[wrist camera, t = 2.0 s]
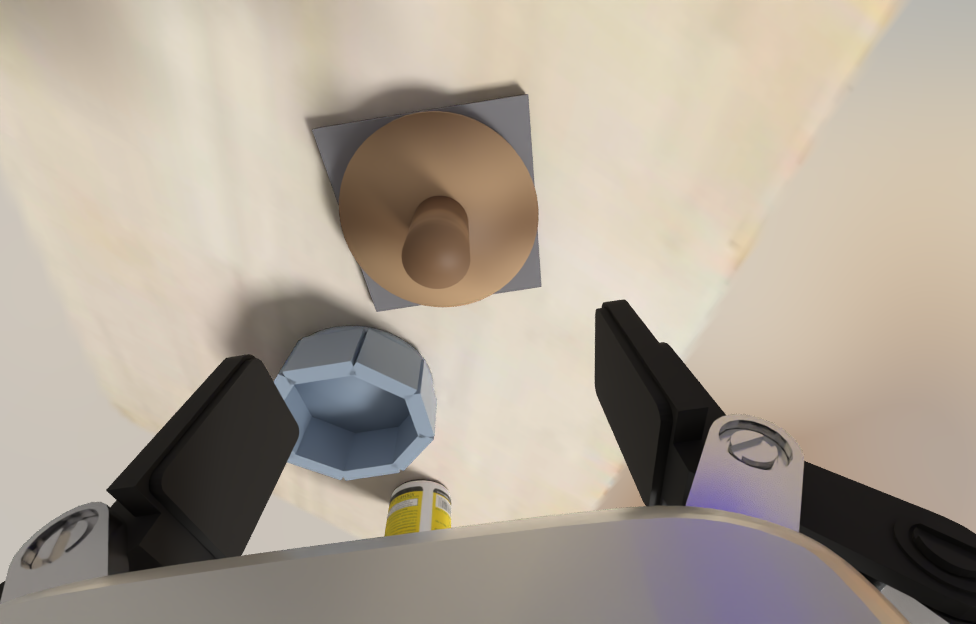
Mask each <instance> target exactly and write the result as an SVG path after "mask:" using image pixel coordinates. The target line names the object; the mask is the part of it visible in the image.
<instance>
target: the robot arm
mask: <svg viewBox="0 0 976 624" xmlns="http://www.w3.org/2000/svg"><path fill="white" fill-rule="evenodd" d="M595 389H596V394H597V397H598V399H599V401H600V404H601V406H602V408H603V410H604V413H605V415H606V417H607V420H608V422H609V424H610V427H611V429H612V431H613V433H614V436H615V438H616V440H617V443H618V445H619V447H620V450H621V452H622V454H623V456H624V459H625V461H626V463H627V466H628V468H629V470H630V473H631V475H632V477H633V479H634V482H635V484H636V486H637V489H638V491H639V493H640V496H641V498H642V500H643V502H644V504H645V505H646V506H644V507H627V508H615V509H605V510H596V511H587V512H578V513H569V514H559V515H550V516H541V517H533V518H526V519H518V520H510V521H502V522H494V523H486V524H478V525H470V526H462V527H455V528H447V529H439V530H431V531H423V532H416V533H408V534H400V535H393V536H385V537H377V538H370V539H362V540H355V541H347V542H340V543H333V544H325V545H318V546H310V547H302V548H295V549H287V550H281V551H273V552H266V553H258V554H251V555H244V556H241V555H242V553H243V551H244V549H245V547H246V545H247V543H248V541H249V539H250V537H251V535H252V533H253V531H254V529H255V527H256V525H257V523H258V520H259V518H260V516H261V514H262V512H263V510H264V508H265V506H266V504H267V502H268V500H269V498H270V496H271V494H272V492H273V490H274V488H275V485H276V483H277V481H278V479H279V477H280V475H281V473H282V471H283V469H284V467H285V465H286V463H287V461H288V459H289V457H290V454H291V452H292V450H293V448H294V446H295V444H296V442H297V440H298V437H299V426H298V424H297V422H296V420H295V419H294V417H293V415H292V413H291V412H290V410H289V408H288V406H287V405H286V403H285V401H284V399H283V398H282V396H281V394H280V392H279V391H278V389H277V387H276V385H275V384H274V382H273V380H272V378H271V377H270V375H269V373H268V371H267V370H266V368H265V366H264V364H263V363H262V361H261V360H259V359H256V358H255V357H254V356H252V355H249V354H248V355H242V356H235V357H229V358H226V359H225V360H223V362H222V363H221V364H220V365H219V366H218V367H217V368H216V369H215V370H214V371H213V373H212V374H211V375H210V376H209V377H208V378H207V379H206V380H205V381H204V383H203V384H202V385H201V386H200V387H199V388H198V389H197V390H196V391H195V392H194V394H193V395H192V396H191V397H190V398H189V399H188V400H187V401H186V402H185V404H184V405H183V406H182V407H181V408H180V409H179V410H178V411H177V412H176V413H175V415H174V416H173V417H172V418H171V419H170V420H169V421H168V422H167V423H166V425H165V426H164V427H163V428H162V429H161V430H160V431H159V432H158V433H157V434H156V436H155V437H154V438H153V439H152V440H151V441H150V442H149V443H148V444H147V446H146V447H145V448H144V449H143V450H142V451H141V452H140V453H139V454H138V455H137V457H136V458H135V459H134V460H133V461H132V462H131V463H130V464H129V465H128V467H127V468H126V469H125V470H124V471H123V472H122V473H121V474H120V476H118V478H117V479H116V480H115V481H114V482H113V483H112V484H111V485H110V486H109V488H108V489H107V492H108V493H110V494H111V495H112V496H113V497H114V498H115V499H116V502H115V503H114V504H113V505H112V506H111V507H109V506H108V505H106V504H104V503H102V502H91V503H88V504H84V505H81V506H78V507H76V508H74V509H72V510H70V511H67V512H65V513H63V514H62V515H60V516H59V517H57V518H55V519H54V520H52V521H51V522H49V523H48V524H46V525H45V526H44V527H43V528H41V529H40V530H39V531H37V532H36V533H35V534H34V535H33V536H32V537H31V538H30V539H29V540H28V541H27V542H26V543H24V544H23V546H22V547H21V548H20V549H19V551H18V552H17V553H16V555H15V556H14V557H13V559H12V562H11V564H10V566H9V569H8V573H7V577H6V581H4V582H3V583H1V584H0V624H976V534H975V533H973V532H972V531H970V530H969V529H967V528H965V527H964V526H962V525H960V524H958V523H956V522H954V521H952V520H949V519H948V518H945V517H943V516H941V515H938V514H936V513H934V512H931V511H929V510H926V509H923V508H921V507H919V506H916V505H914V504H911V503H908V502H906V501H903V500H901V499H899V498H896V497H893V496H891V495H888V494H886V493H883V492H881V491H878V490H876V489H873V488H871V487H868V486H866V485H863V484H861V483H858V482H856V481H853V480H851V479H848V478H846V477H843V476H841V475H838V474H836V473H833V472H831V471H828V470H826V469H823V468H821V467H818V466H816V465H813V464H811V463H808V462H806V461H804V457H803V452H802V449H801V448H800V446H799V445H798V443H797V441H796V440H795V439H794V438H793V437H792V436H791V435H790V434H788V433H787V432H786V431H785V430H783V429H782V428H780V427H778V426H777V425H775V424H774V423H772V422H769V421H767V420H764V419H762V418H759V417H755V416H750V415H746V414H731V415H725V413H724V412H723V411H722V410H721V408H720V407H719V406H718V405H717V403H716V402H715V401H714V400H713V399H712V397H711V396H710V395H709V393H708V392H707V391H706V390H705V389H704V387H703V386H702V385H701V384H700V382H699V381H698V380H697V379H696V377H695V376H694V375H693V374H692V373H691V371H690V370H689V369H688V367H687V366H686V365H685V364H684V363H683V361H682V360H681V359H680V358H679V356H678V355H677V354H676V353H675V351H674V350H673V349H672V348H671V347H670V346H669V345H668V344H667V343H664V342H662V343H659V342H658V341H657V339H656V338H655V337H654V336H653V334H652V333H651V332H650V330H649V329H648V328H647V327H646V325H645V324H644V323H643V321H642V320H641V319H640V317H639V316H638V315H637V314H636V312H635V311H634V310H633V308H632V307H631V306H630V305H629V303H628V302H627V301H626V300H617V301H610V302H604V303H603V304H602V308H599V309H596V313H595Z"/></svg>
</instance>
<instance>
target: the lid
mask: <svg viewBox="0 0 976 624" xmlns="http://www.w3.org/2000/svg"><path fill="white" fill-rule="evenodd" d="M339 216H340V222H341V227H342V231H343V234H344V238H345V240H346V242H347V245H348V247H349V249H350V251H351V253H352V255H353V256H354V258H355V260H356V261H357V262H358V264H359V265H360V266H361V268H362V269H363V270H364V271H365V272H366V273H367V274H368V275H369V277H370V278H371V279H372V280H374V281H375V282H376V283H377V284H379V285H380V286H381V287H382V288H384V289H386V290H387V291H389V292H390V293H392V294H394V295H396V296H398V297H400V298H402V299H405V300H407V301H410V302H413V303H417V304H421V305H425V306H433V307H454V306H461V305H466V304H470V303H473V302H476V301H479V300H482V299H484V298H486V297H488V296H490V295H492V294H494V293H495V292H497V291H498V290H500V289H501V288H502V287H504V286H505V285H506V284H507V283H509V282H510V281H511V280H512V279H513V278H514V276H515V275H516V274H517V273H518V272H519V270H520V269H521V268H522V267H523V265H524V263H525V262H526V260H527V258H528V256H529V254H530V252H531V250H532V247H533V245H534V241H535V237H536V234H537V227H538V202H537V195H536V191H535V188H534V184H533V181H532V179H531V176H530V174H529V172H528V170H527V168H526V166H525V164H524V163H523V161H522V159H521V158H520V156H519V155H518V154H517V153H516V151H515V150H514V149H513V148H512V146H511V145H510V144H509V143H508V142H507V141H506V140H505V139H504V138H503V137H502V136H501V135H500V134H498V133H497V132H495V131H494V130H493V129H491V128H490V127H489V126H487V125H485V124H483V123H481V122H479V121H477V120H475V119H473V118H470V117H467V116H464V115H461V114H456V113H452V112H443V111H427V112H418V113H414V114H409V115H405V116H403V117H401V118H398V119H396V120H393V121H391V122H390V123H388V124H386V125H385V126H383V127H381V128H380V129H378V130H377V131H376V132H374V133H373V134H372V135H371V136H370V137H368V138H367V139H366V140H365V141H364V142H363V144H362V145H361V146H360V147H359V148H358V149H357V151H356V152H355V154H354V155H353V157H352V158H351V160H350V162H349V164H348V166H347V168H346V171H345V173H344V176H343V180H342V183H341V187H340V195H339Z"/></svg>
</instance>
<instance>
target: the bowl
mask: <svg viewBox="0 0 976 624" xmlns="http://www.w3.org/2000/svg"><path fill="white" fill-rule="evenodd" d="M274 384H275V385H276V387H277V389H278V391H279V392H280V394H281V396H282V398H283V399H284V401H285V403H286V405H287V406H288V408H289V410H290V412H291V413H292V415H293V417H294V419H295V420H296V422H297V424H298V426H299V437H298V440H297V442H296V444H295V446H294V448H293V450H292V452H291V454H290V457H289V459H288V461H287V462H288V463H291V464H294V465H297V466H300V467H303V468H306V469H309V470H312V471H315V472H318V473H321V474H324V475H327V476H329V477H332V478H335V479H338V480H341V479H342V478H343V477H344V479H345V481H347V480H354V479H360V478H367V477H374V476H380V475H387V474H394V473H400V470H402V471H404V470H405V469H406V468H407V467H408V466H409V465H410V464H411V463H412V462H413V460H414V459H415V458H416V457H417V456H418V455H419V454H420V453H421V452H422V451H423V450H424V449H425V448H426V447H427V446H428V445H429V444H430V443H431V442H432V441H433V440H434V436H435V421H436V406H437V398H436V395H435V392H434V388H433V378H432V374H431V371H430V368H429V366H428V364H427V363H426V361H425V359H424V358H423V357H422V356H421V354H420V353H419V352H418V351H417V350H416V349H415V348H414V347H412V346H411V345H410V344H408V343H407V342H406V341H404V340H402V339H400V338H399V337H397V336H395V335H393V334H390V333H388V332H385V331H382V330H379V329H375V328H370V327H364V326H338V327H332V328H328V329H324V330H321V331H319V332H316V333H314V334H312V335H310V336H308V337H303V338H302V340H299V341H298V343H297V344H296V346H295V347H294V349H293V351H292V352H291V354H290V356H289V357H288V359H287V360H286V362H285V364H284V365H283V367H282V369H281V370H280V372H279V374H278V375H277V377H276V379H275V380H274Z"/></svg>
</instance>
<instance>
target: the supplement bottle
mask: <svg viewBox="0 0 976 624" xmlns="http://www.w3.org/2000/svg"><path fill="white" fill-rule="evenodd" d="M447 528H451V496H450V493H449V491H448V490H447V489H446V488H445V487H444V486H443V485H441V484H439V483H436V482H432V481H425V480H418V481H411V482H407V483H404V484H402V485H401V486H399V487H398V488H396V489H395V491H394V492H393V493H392V496H391V500H390V505H389V511H388V517H387V523H386V529H385V536H393V535H400V534H408V533H416V532H423V531H431V530H439V529H447ZM385 536H384V537H385Z"/></svg>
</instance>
